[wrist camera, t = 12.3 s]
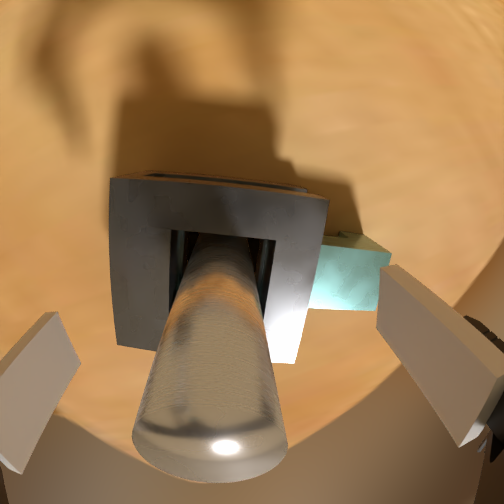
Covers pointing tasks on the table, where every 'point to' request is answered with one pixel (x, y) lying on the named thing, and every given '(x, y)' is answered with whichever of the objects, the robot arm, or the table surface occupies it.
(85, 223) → the table surface
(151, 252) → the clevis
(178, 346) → the pin
